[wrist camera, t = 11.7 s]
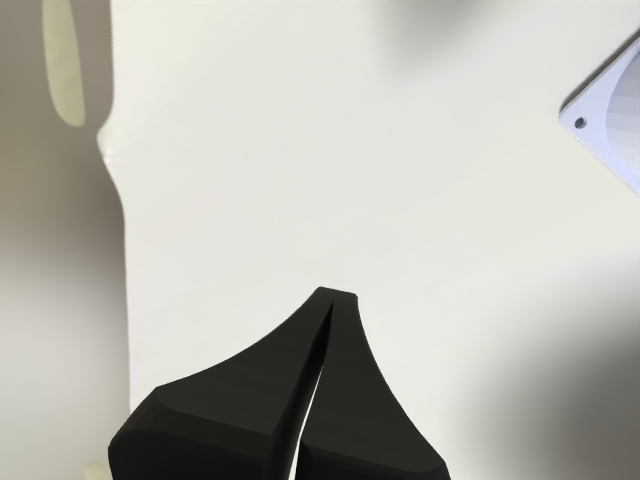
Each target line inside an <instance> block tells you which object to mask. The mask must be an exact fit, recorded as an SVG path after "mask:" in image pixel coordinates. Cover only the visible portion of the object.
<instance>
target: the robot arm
mask: <svg viewBox="0 0 640 480" xmlns="http://www.w3.org/2000/svg"><path fill="white" fill-rule="evenodd" d="M580 117H582V118H583V124H582V125H581V126H580V127H578V128H576V127H575V121H576V120H577V119H578V118H580ZM559 122H560V123H561V124H562V125H563V126H564V127H565V128H566V129H567V130H568V131H569V132H570V133H571V134H573V135H574V136H575V137H576V138H577V139H578V140H579V141H580V142H581V143H582V144H584V145H585V146H586V147H587V148H588V149H589V150H590V151H591V152H592V153H593V154H595V155H596V156H597V157H598V158H599V159H600V160H601V161H602V162H603V163H604V164H606V165H607V166H608V167H609V168H610V169H611V170H612V171H613V172H614V173H615V174H617V175H618V176H619V177H620V178H621V179H622V180H623V181H624V182H625V183H626V184H628V185H629V186H630V187H631V188H632V189H633V190H634V191H635V192H636V193H637V194H639V195H640V36H639V37H638V38H637V39H636V40H635V41H634V42H633V43H632V44H631V45H630V46H629V47H628V48H627V49H626V50H625V51H624V52H623V53H621V54H620V55H619V56H618V57H617V58H616V59H615V60H614V61H613V62H612V63H611V64H610V65H609V66H608V67H607V68H606V69H605V70H603V71H602V72H601V73H600V74H599V75H598V76H597V77H596V78H595V79H594V80H593V81H592V82H591V83H590V84H589V85H588V86H587V87H586V88H584V89H583V90H582V91H581V92H580V93H579V94H578V95H577V96H576V97H575V98H574V99H573V100H572V101H571V102H570V103H569V104H568V105H566V106H565V107H564V108H563V109H562V111H561V112H560V114H559ZM322 367H323V368H322ZM321 370H322V371H321ZM320 373H321V374H320ZM319 375H320V378H319ZM318 378H319V381H318ZM317 381H318V385H317V388H316V391H315V395H314V398H313V401H312V405H311V408H310V411H309V414H308V417H307V420H306V423H305V426H304V429H303V432H302V435H301V438H300V444H299V452H298V459H297V466H296V474H295V480H451V478H450V475H449V472H448V469H447V466H446V463H445V461H444V460H443V459H442V458H441V456H440V455H439V454H438V453H437V452H436V451H435V449H434V448H433V447H432V446H431V445H430V444H429V443H428V441H427V440H426V439H425V438H424V437H423V436H422V435H421V433H420V432H419V431H418V429H417V428H416V427H415V425H414V424H413V423H412V421H411V420H410V419H409V417H408V416H407V414H406V413H405V411H404V410H403V408H402V407H401V405H400V404H399V402H398V401H397V399H396V398H395V396H394V395H393V393H392V392H391V390H390V388H389V386H388V384H387V383H386V381H385V379H384V377H383V375H382V373H381V371H380V369H379V367H378V365H377V363H376V361H375V359H374V357H373V354H372V352H371V349H370V347H369V344H368V341H367V339H366V336H365V332H364V329H363V326H362V322H361V319H360V314H359V309H358V297H357V296H356V294H354V293H349V292H344V291H340V290H335V289H330V288H325V287H318V288H317V289H316V290H315V291H314V292H313V294H312V295H311V296H310V297H309V298H308V299H307V300H306V301H305V302H304V303H303V304H302V306H301V307H299V308H298V309H297V310H296V311H295V312H294V313H293V314H292V315H291V316H290V317H289V318H288V319H286V320H285V321H284V322H283V323H282V324H280V325H279V326H278V327H277V328H275V329H274V330H273V331H272V332H270V333H269V334H268V335H266V336H265V337H263V338H262V339H261V340H259V341H258V342H256V343H255V344H253V345H252V346H250V347H248V348H247V349H245V350H243V351H241V352H240V353H238V354H236V355H235V356H233V357H231V358H229V359H227V360H225V361H223V362H221V363H219V364H217V365H214V366H212V367H210V368H208V369H205V370H203V371H201V372H198V373H196V374H193V375H191V376H188V377H185V378H182V379H179V380H176V381H173V382H170V383H167V384H165V385H161V386H158V387H156V388H155V389H154V390H153V391H152V392H151V393H150V394H149V395H148V396H147V397H146V398H145V399H144V400H143V401H142V402H141V404H140V405H139V406H138V407H137V408H136V409H135V410H134V412H133V413H132V414H131V416H130V417H129V418H128V419H127V421H126V422H125V423H124V425H123V426H122V427H121V428H120V430H119V431H118V432H117V433H116V435H115V436H114V438H113V439H112V440H111V442H110V445H109V447H108V459H109V465H110V469H111V473H112V477H113V480H288V479H289V474H290V470H291V466H292V462H293V458H294V454H295V450H296V446H297V442H298V438H299V434H300V431H301V428H302V424H303V421H304V418H305V415H306V412H307V410H308V407H309V404H310V401H311V398H312V395H313V393H314V390H315V387H316V384H317Z"/></svg>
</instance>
